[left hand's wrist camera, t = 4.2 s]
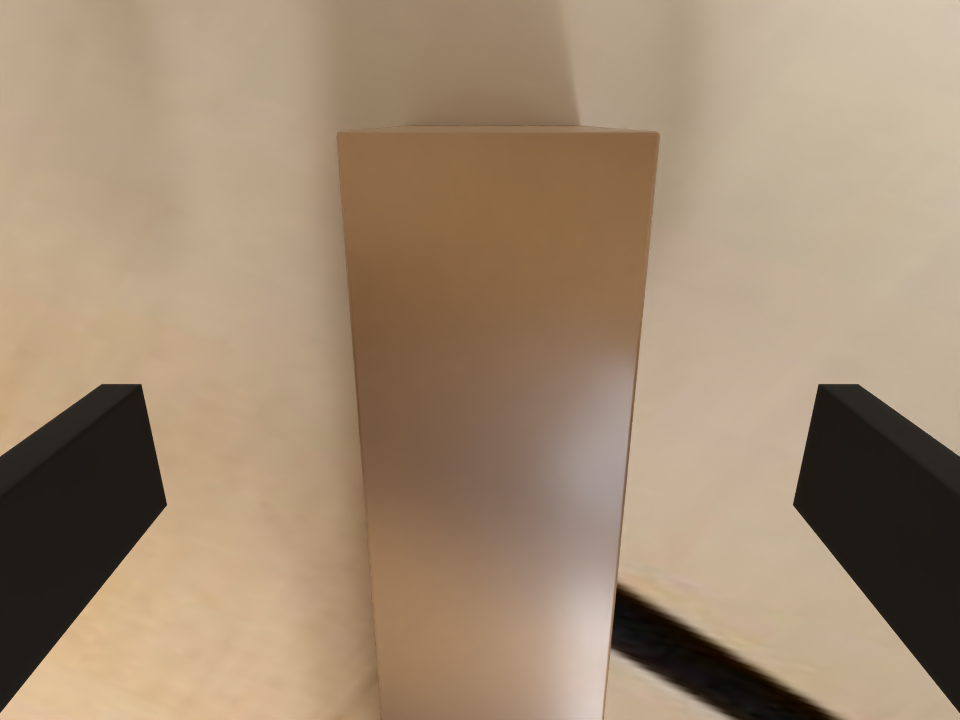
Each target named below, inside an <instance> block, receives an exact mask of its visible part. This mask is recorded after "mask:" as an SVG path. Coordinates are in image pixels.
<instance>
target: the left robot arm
mask: <svg viewBox="0 0 960 720" xmlns="http://www.w3.org/2000/svg"><path fill="white" fill-rule="evenodd" d="M166 506H167V503H166V498H165V493H164V489H163V484H162V479H161V474H160V470H159V465H158V460H157V456H156V451H155V446H154V442H153V437H152V432H151V427H150V423H149V418H148V413H147V409H146V404H145V399H144V394H143V390H142V385H141V384H101V385H100V386H99V387H97V388H96V389H94V390H93V391H92V392H90V393H89V394H87V395H86V396H85V397H83V398H82V399H80V400H79V401H78V402H76V403H75V404H73V405H72V406H71V407H69V408H68V409H66V410H65V411H64V412H62V413H61V414H59V415H58V416H57V417H55V418H54V419H52V420H51V421H50V422H48V423H47V424H45V425H44V426H43V427H41V428H40V429H38V430H37V431H36V432H34V433H33V434H31V435H30V436H29V437H27V438H26V439H24V440H23V441H22V442H20V443H19V444H17V445H16V446H15V447H13V448H12V449H10V450H9V451H8V452H6V453H5V454H3V455H2V456H1V457H0V713H1V711H2V710H3V709H4V708H5V706H6V705H7V704H8V703H9V701H10V700H11V699H12V698H13V696H14V695H15V694H16V693H17V691H18V690H19V689H20V688H21V686H22V685H23V684H24V683H25V681H26V680H27V679H28V678H29V676H30V675H31V674H32V673H33V671H34V670H35V669H36V668H37V666H38V665H39V664H40V663H41V661H42V660H43V659H44V658H45V656H46V655H47V654H48V653H49V652H50V650H51V649H52V648H53V647H54V645H55V644H56V643H57V642H58V640H59V639H60V638H61V637H62V635H63V634H64V633H65V632H66V630H67V629H68V628H69V627H70V625H71V624H72V623H73V622H74V620H75V619H76V618H77V617H78V615H79V614H80V613H81V612H82V610H83V609H84V608H85V607H86V605H87V604H88V603H89V602H90V600H91V599H92V598H93V597H94V595H95V594H96V593H97V592H98V590H99V589H100V588H101V587H102V585H103V584H104V583H105V582H106V580H107V579H108V578H109V577H110V575H111V574H112V573H113V572H114V570H115V569H116V568H117V567H118V565H119V564H120V563H121V562H122V560H123V559H124V558H125V557H126V555H127V554H128V553H129V552H130V550H131V549H132V548H133V547H134V545H135V544H136V543H137V542H138V540H139V539H140V538H141V537H142V535H143V534H144V533H145V532H146V531H147V529H148V528H149V527H150V526H151V524H152V523H153V522H154V521H155V519H156V518H157V517H158V516H159V514H160V513H161V512H162V511H163V509H164V508H165V507H166ZM793 506H794V507H795V508H796V509H797V511H798V512H799V513H800V514H801V516H802V517H803V518H804V519H805V521H806V522H807V523H808V524H809V526H810V527H811V528H812V529H813V531H814V532H815V533H816V534H817V536H818V537H819V538H820V539H821V540H822V542H823V543H824V544H825V545H826V547H827V548H828V549H829V550H830V552H831V553H832V554H833V555H834V557H835V558H836V559H837V560H838V562H839V563H840V564H841V565H842V567H843V568H844V569H845V570H846V572H847V573H848V574H849V575H850V577H851V578H852V579H853V580H854V582H855V583H856V584H857V585H858V587H859V588H860V589H861V590H862V592H863V593H864V594H865V595H866V597H867V598H868V599H869V600H870V602H871V603H872V604H873V605H874V607H875V608H876V609H877V610H878V612H879V613H880V614H881V615H882V617H883V618H884V619H885V620H886V622H887V623H888V624H889V625H890V627H891V628H892V629H893V630H894V632H895V633H896V634H897V635H898V637H899V638H900V639H901V640H902V642H903V643H904V644H905V645H906V647H907V648H908V649H909V650H910V652H911V653H912V654H913V655H914V657H915V658H916V659H917V660H918V661H919V663H920V664H921V665H922V666H923V668H924V669H925V670H926V671H927V673H928V674H929V675H930V676H931V678H932V679H933V680H934V681H935V683H936V684H937V685H938V686H939V688H940V689H941V690H942V691H943V693H944V694H945V695H946V696H947V698H948V699H949V700H950V701H951V703H952V704H953V705H954V706H955V708H956V709H957V710H958V711H959V713H960V457H959V456H958V455H957V454H955V453H954V452H952V451H951V450H950V449H948V448H947V447H945V446H944V445H943V444H941V443H940V442H938V441H937V440H936V439H934V438H933V437H931V436H930V435H929V434H927V433H926V432H924V431H923V430H922V429H920V428H919V427H917V426H916V425H915V424H913V423H912V422H910V421H909V420H908V419H906V418H905V417H903V416H902V415H901V414H899V413H898V412H896V411H895V410H894V409H892V408H891V407H889V406H888V405H887V404H885V403H884V402H882V401H881V400H880V399H878V398H877V397H875V396H874V395H873V394H871V393H870V392H868V391H867V390H866V389H864V388H863V387H861V386H860V385H859V384H819V385H818V390H817V394H816V399H815V404H814V409H813V413H812V418H811V423H810V427H809V432H808V437H807V441H806V446H805V451H804V456H803V460H802V465H801V470H800V474H799V479H798V484H797V489H796V493H795V498H794V503H793Z"/></svg>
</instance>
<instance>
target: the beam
mask: <svg viewBox="0 0 960 720" xmlns="http://www.w3.org/2000/svg"><path fill="white" fill-rule="evenodd" d="M659 140H660V135H659V133H658V132H653V131H640V130H627V129H615V128H602V127H589V126H398V127H387V128H376V129H365V130H353V131H342V132H339V133H337V149H338V162H339V175H340V188H341V201H342V214H343V227H344V240H345V253H346V266H347V279H348V292H349V305H350V318H351V331H352V344H353V357H354V370H355V383H356V396H357V409H358V422H359V435H360V448H361V462H362V475H363V488H364V501H365V514H366V527H367V540H368V553H369V566H370V579H371V592H372V605H373V618H374V631H375V644H376V657H377V670H378V683H379V696H380V709H381V720H604V711H605V700H606V690H607V680H608V669H609V659H610V648H611V638H612V628H613V617H614V607H615V597H616V586H617V576H618V565H619V555H620V545H621V534H622V524H623V513H624V503H625V493H626V482H627V472H628V462H629V451H630V441H631V430H632V420H633V410H634V399H635V389H636V378H637V368H638V358H639V347H640V337H641V326H642V316H643V306H644V295H645V285H646V275H647V264H648V254H649V243H650V233H651V223H652V212H653V202H654V191H655V181H656V171H657V160H658V150H659Z"/></svg>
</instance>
